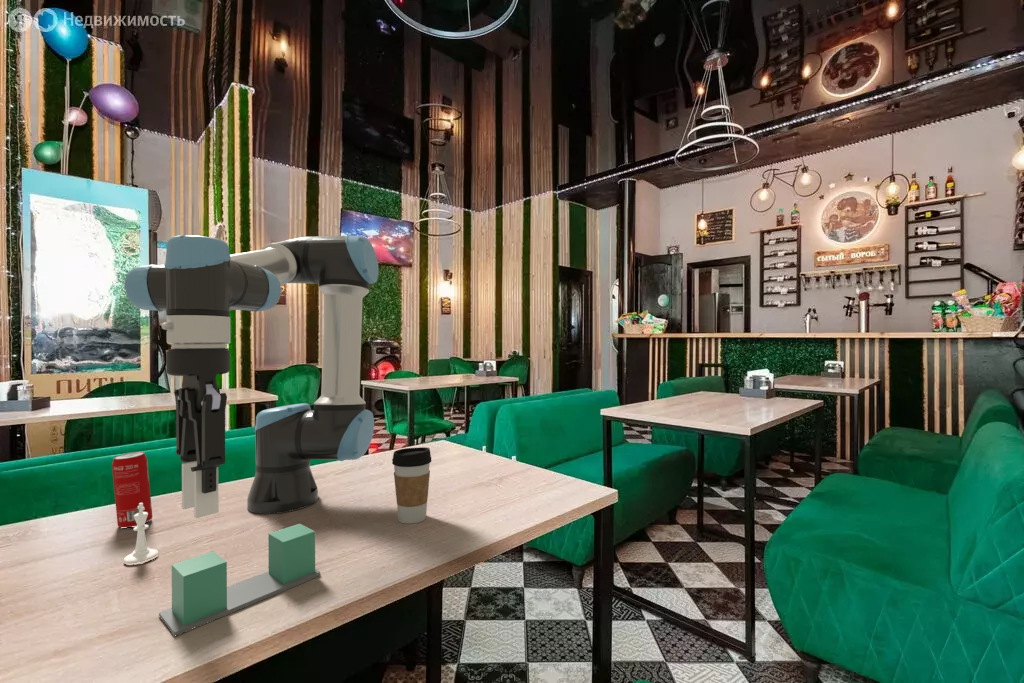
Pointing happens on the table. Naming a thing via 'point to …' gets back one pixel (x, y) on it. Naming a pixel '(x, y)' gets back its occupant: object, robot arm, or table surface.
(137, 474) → the beverage can
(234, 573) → the table surface
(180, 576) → the green block
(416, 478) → the coffee cup
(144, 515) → the chess piece
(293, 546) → the stand
